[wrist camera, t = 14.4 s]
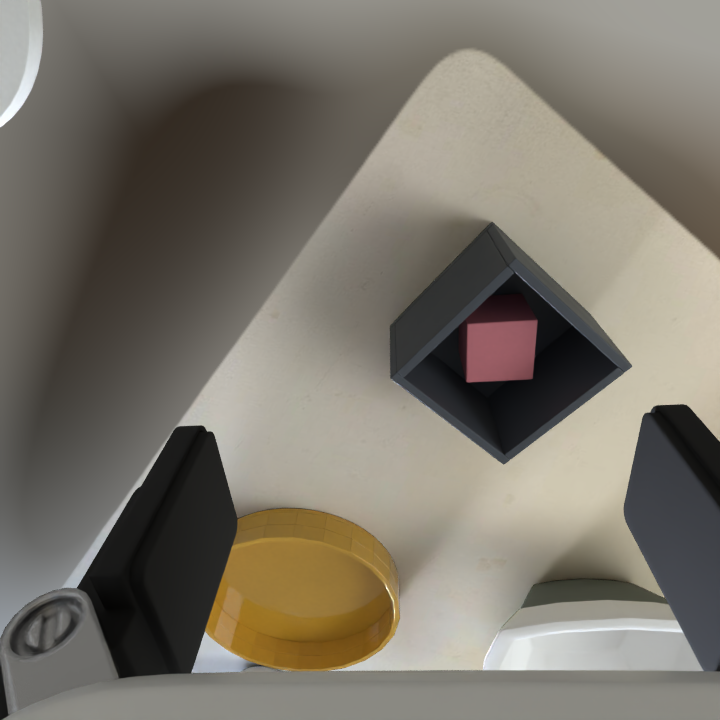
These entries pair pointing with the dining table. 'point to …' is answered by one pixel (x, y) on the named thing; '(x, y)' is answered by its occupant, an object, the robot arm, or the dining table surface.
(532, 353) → the block
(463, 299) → the grey bin
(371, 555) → the yellow bowl
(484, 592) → the dining table surface
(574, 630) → the bowl
